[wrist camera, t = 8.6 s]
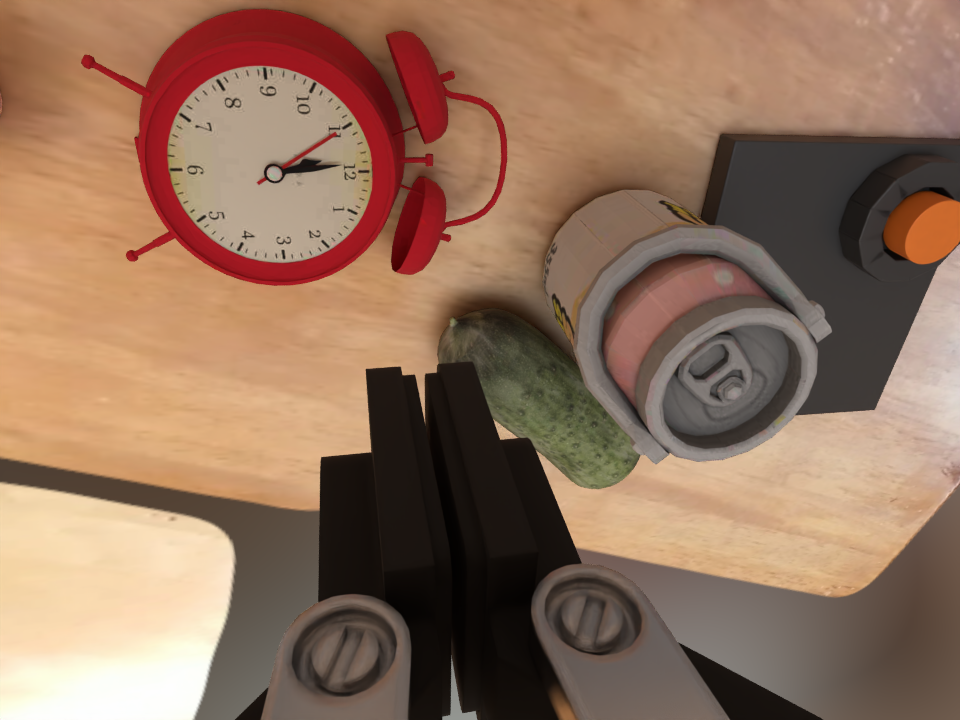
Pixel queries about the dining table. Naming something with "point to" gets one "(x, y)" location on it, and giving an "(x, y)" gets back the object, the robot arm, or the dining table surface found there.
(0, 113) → the smoothie
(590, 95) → the dining table surface
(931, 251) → the button
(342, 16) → the dining table surface
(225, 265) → the alarm clock
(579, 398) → the vegetable
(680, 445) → the beverage can
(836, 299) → the grey button plate
